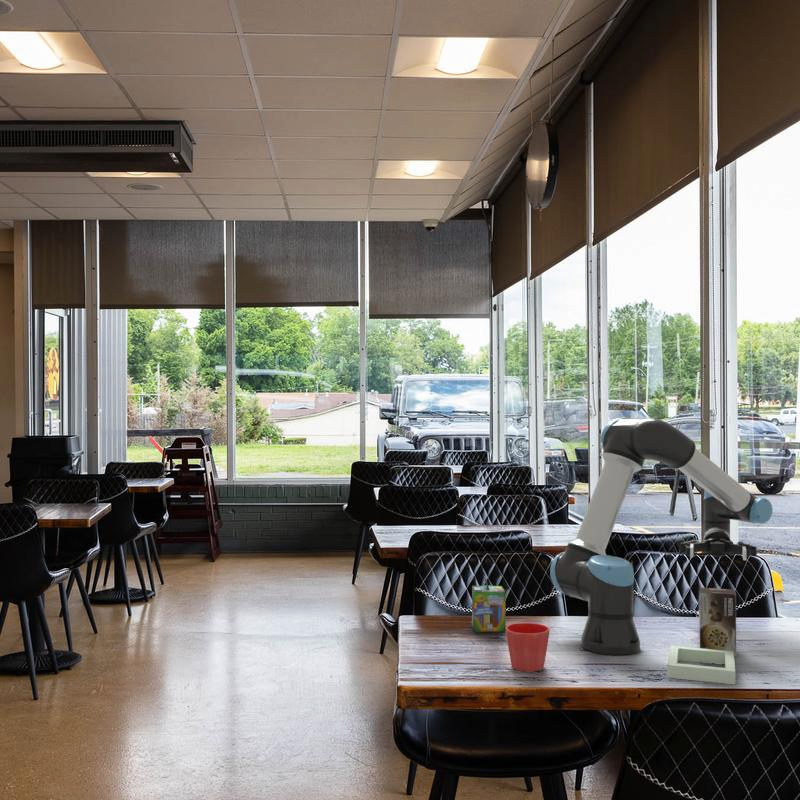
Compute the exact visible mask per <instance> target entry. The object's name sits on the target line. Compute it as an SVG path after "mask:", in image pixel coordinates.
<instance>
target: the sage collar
mask: <svg viewBox="0 0 800 800" xmlns="http://www.w3.org/2000/svg"><path fill="white" fill-rule="evenodd" d="M669 647H670V648H669V652H668V653H669V654H668V660H667V672H666V673H667V677H666V678H670V679H677V680H678V679H680V680H688V681H695V682H696V681H697V682H698V681H699V682H706V683H716V682H717V684H726V685H736V665H735V656H734V654H733V651H724V650H713V649H702V648H700V647H689V646H678V645H670V646H669ZM679 661H683V662H693V663H701V662H702V663H703V664H712V663H715V664H714V665H722V664H725V665H724V667H718V666H709V665H708V666H707V665H697V664H689V663H687V664H686V663H679Z"/></svg>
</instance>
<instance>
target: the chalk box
mask: <svg viewBox="0 0 800 800" xmlns="http://www.w3.org/2000/svg"><path fill="white" fill-rule="evenodd" d="M483 579H484V581H485V585H472V586H471V628H472V630H473V632H474V633H486V632H490V633H492V632H493V633H494V632H495V633H496V632H502V633H503V632H504V633H506V626H507V625H506V624H507V623H506V620H507V618H506V615H507V614H506V613H507V612H506V591H505V589H504V587H503V586H502V585H489V584H488V581H487V577H486V576H485V575H483Z"/></svg>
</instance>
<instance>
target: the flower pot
mask: <svg viewBox="0 0 800 800" xmlns="http://www.w3.org/2000/svg"><path fill="white" fill-rule="evenodd" d="M550 631H551V629H550V627H548V626H547V625H544V624H542V623H535V622H534V623H533V622H517V623H511V624H508V625H506V632H505V635H506V636H505V637H506V640H507V647H508V652H509V659H510V663H511V664H510V665H511V667H512V669H514V670H515V671H520V672H528V673H529V672H530V673H533V672H534V673H535V672H537V671H542V670H543V669H544V668H545V667H544V666H545V661H546V656H547V651H548V645H549V637H550Z"/></svg>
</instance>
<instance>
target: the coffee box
mask: <svg viewBox="0 0 800 800" xmlns="http://www.w3.org/2000/svg"><path fill="white" fill-rule="evenodd" d="M698 593H699V595H698V596H699V597H698V598H699V603H698V604H699V648H702V649H713V650H724V651H733V654H734V657H737V593H736V589H733V588H732V589H731V588H716V587H714V588H713V587H699V591H698Z"/></svg>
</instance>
